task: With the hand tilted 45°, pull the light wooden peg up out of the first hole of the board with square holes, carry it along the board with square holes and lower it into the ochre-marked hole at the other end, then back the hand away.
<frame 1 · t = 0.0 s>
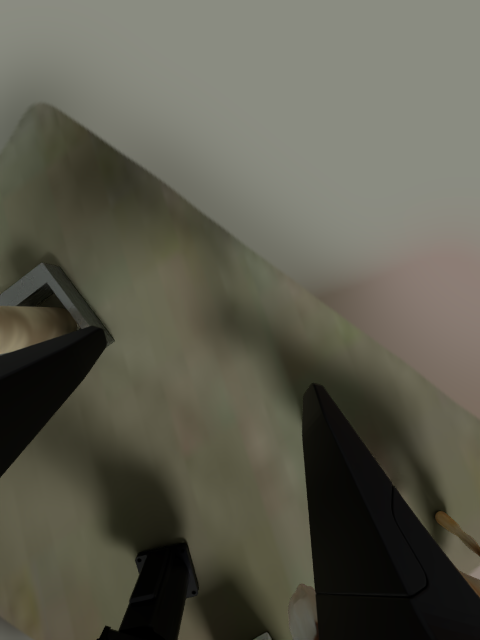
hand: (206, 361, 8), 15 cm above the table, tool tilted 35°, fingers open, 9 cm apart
peg: (58, 325, 24), resting in board with square holes
horse figurine: (357, 502, 24), on the table
board with square holes: (7, 364, 24), on the table
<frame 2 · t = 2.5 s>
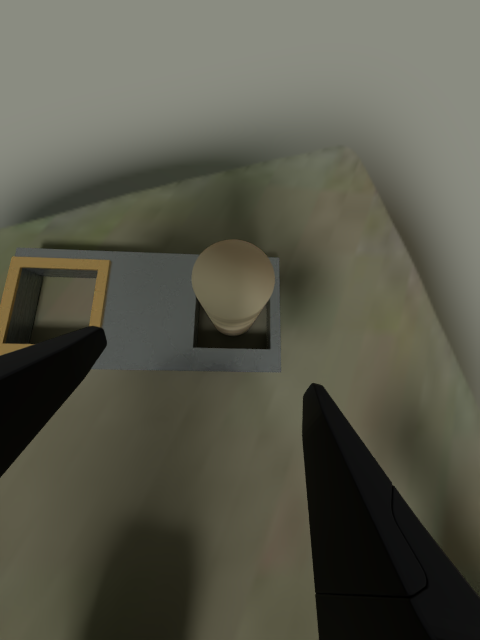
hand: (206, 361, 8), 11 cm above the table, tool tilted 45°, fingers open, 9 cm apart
peg: (232, 314, 20), resting in board with square holes
board with square holes: (153, 312, 20), on the table
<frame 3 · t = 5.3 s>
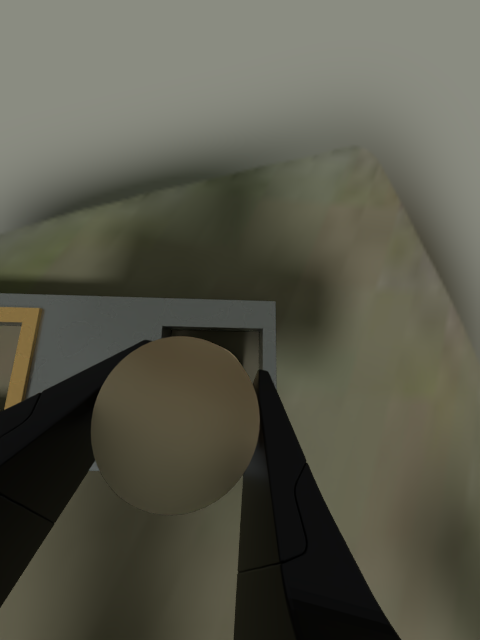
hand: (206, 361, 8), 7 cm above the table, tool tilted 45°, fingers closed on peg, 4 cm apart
peg: (213, 375, 15), resting in board with square holes, touching gripper
board with square holes: (106, 373, 15), on the table
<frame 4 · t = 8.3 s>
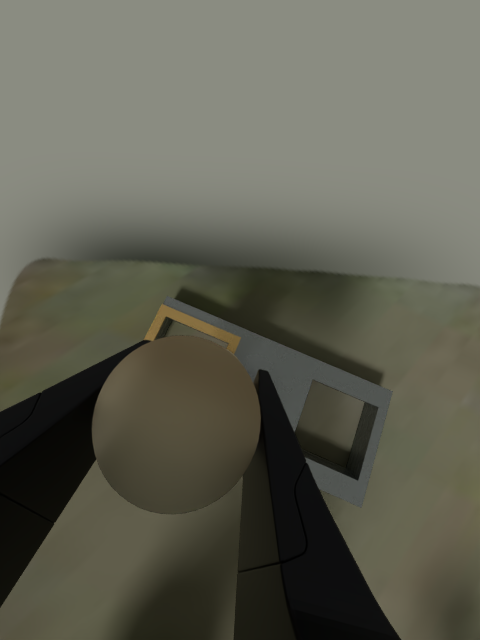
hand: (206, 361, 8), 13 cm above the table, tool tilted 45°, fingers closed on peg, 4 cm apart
peg: (214, 375, 15), point 6 cm above the table, touching gripper
board with square holes: (255, 390, 21), on the table
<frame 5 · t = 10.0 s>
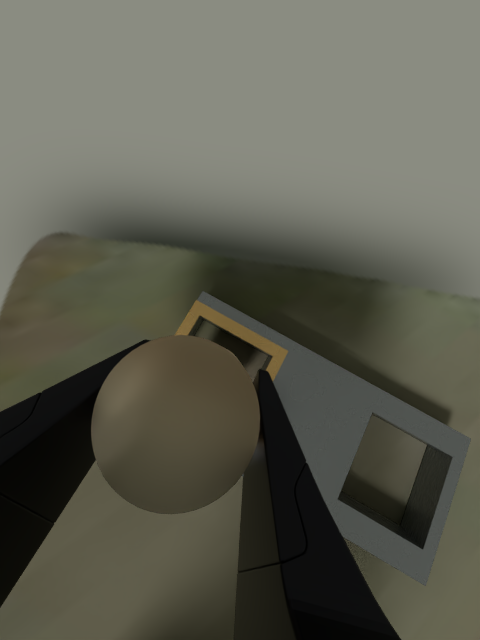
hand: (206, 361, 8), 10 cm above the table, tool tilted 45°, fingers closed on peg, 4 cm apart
peg: (213, 375, 15), point 3 cm above the table, touching gripper
board with square holes: (295, 415, 17), on the table
when the fingers open (8 cm above the table, at t = 11.4 s): peg stays where it is, resting in board with square holes.
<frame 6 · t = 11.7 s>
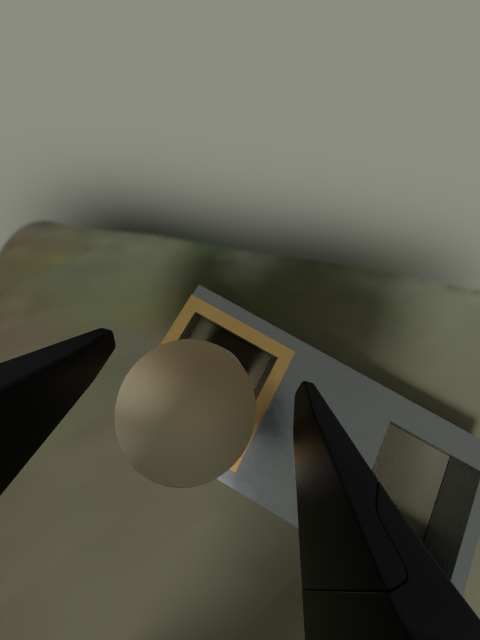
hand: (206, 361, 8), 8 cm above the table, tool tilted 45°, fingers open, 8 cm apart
peg: (215, 374, 16), resting in board with square holes
board with square holes: (302, 424, 16), on the table
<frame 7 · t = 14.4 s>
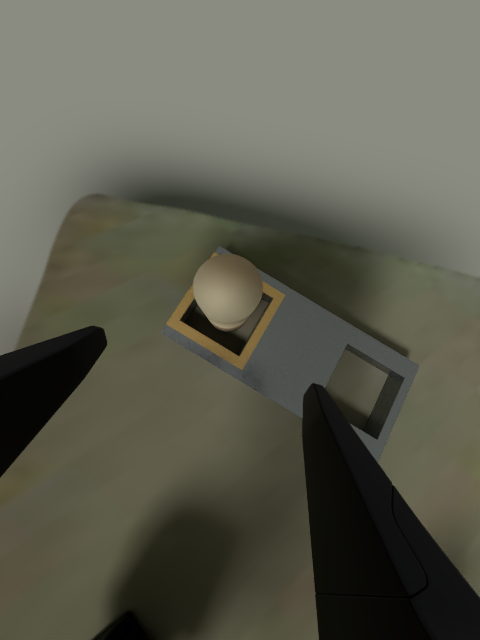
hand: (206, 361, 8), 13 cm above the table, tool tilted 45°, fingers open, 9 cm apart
peg: (227, 312, 22), resting in board with square holes
board with square holes: (288, 349, 22), on the table
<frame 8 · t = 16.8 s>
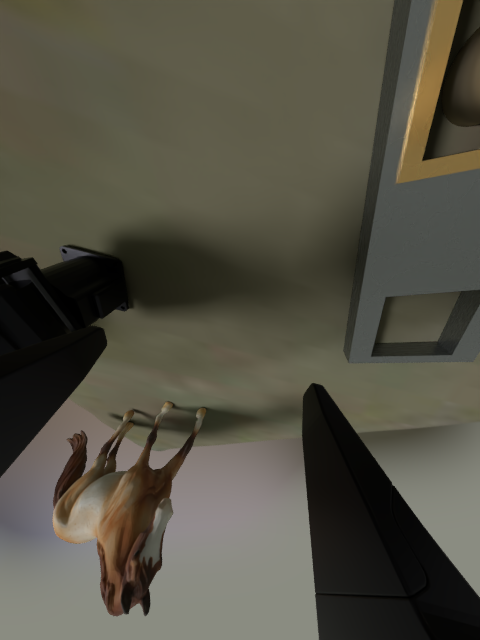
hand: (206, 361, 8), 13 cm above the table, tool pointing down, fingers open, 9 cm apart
horse figurine: (144, 402, 37), on the table
board with square holes: (438, 228, 15), on the table
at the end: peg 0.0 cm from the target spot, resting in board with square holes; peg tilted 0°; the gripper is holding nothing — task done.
